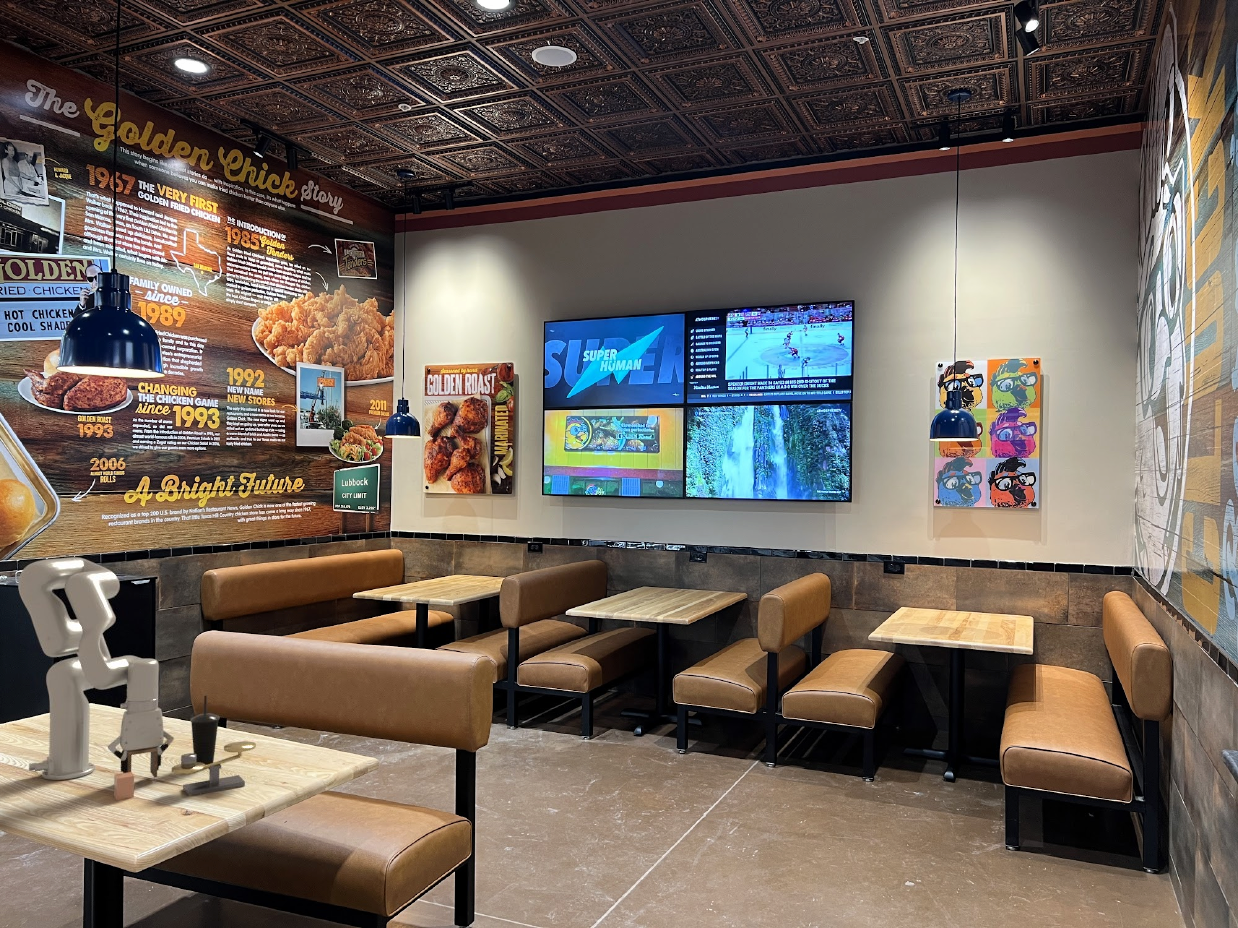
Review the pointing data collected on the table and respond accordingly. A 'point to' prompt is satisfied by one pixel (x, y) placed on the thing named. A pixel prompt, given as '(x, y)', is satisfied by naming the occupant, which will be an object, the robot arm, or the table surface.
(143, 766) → the table surface
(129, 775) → the block
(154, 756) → the arch
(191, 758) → the balance
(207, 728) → the drinking cup
